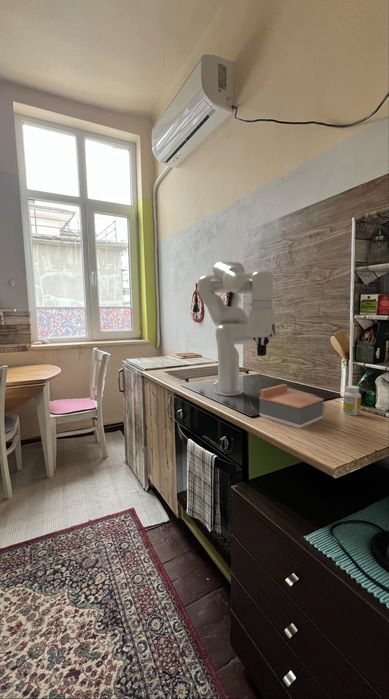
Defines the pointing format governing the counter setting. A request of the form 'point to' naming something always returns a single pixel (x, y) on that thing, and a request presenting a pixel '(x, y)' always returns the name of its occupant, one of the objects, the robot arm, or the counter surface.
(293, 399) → the mailer lid
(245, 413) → the counter surface
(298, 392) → the packaged product
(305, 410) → the tray
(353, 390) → the supplement bottle
